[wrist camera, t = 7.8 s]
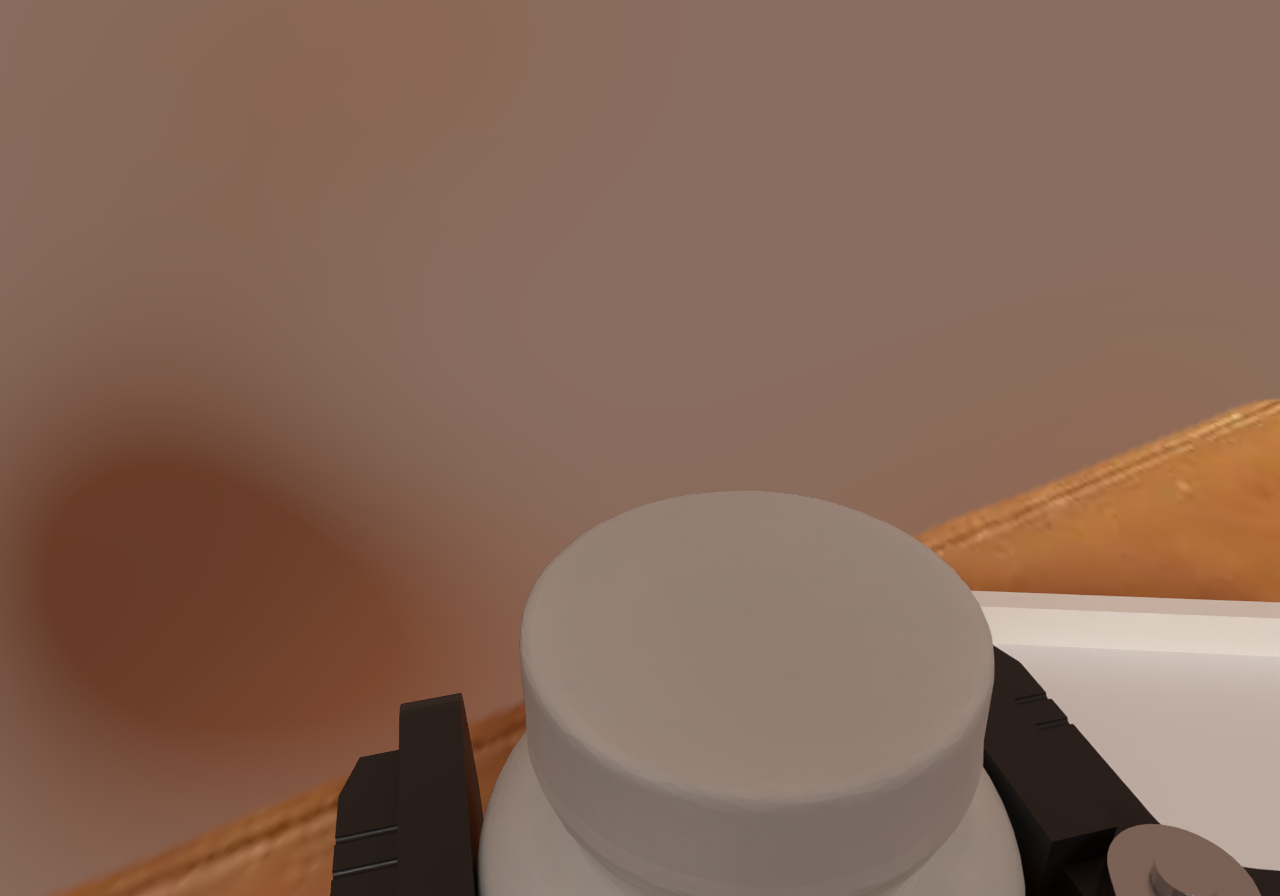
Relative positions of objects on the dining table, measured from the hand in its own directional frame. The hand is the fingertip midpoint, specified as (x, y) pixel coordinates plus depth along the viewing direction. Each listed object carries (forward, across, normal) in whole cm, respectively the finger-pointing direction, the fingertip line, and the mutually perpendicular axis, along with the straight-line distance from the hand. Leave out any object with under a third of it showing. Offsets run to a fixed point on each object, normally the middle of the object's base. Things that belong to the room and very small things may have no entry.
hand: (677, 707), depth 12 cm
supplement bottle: (-3, 0, +6) cm, 7 cm away
